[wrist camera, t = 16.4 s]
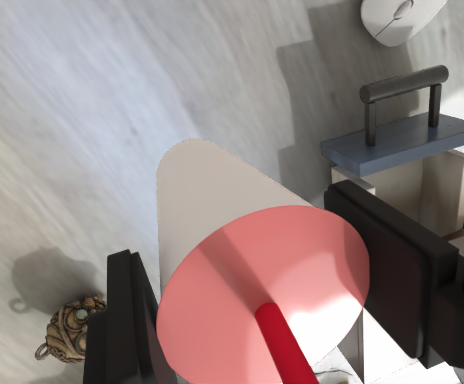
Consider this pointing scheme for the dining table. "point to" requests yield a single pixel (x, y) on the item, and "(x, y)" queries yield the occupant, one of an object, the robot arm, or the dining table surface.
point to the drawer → (407, 155)
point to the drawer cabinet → (380, 340)
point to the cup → (249, 272)
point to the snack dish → (335, 378)
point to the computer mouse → (397, 18)
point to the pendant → (70, 330)
